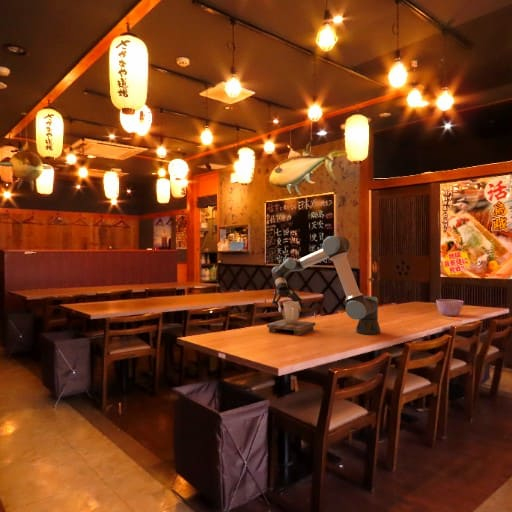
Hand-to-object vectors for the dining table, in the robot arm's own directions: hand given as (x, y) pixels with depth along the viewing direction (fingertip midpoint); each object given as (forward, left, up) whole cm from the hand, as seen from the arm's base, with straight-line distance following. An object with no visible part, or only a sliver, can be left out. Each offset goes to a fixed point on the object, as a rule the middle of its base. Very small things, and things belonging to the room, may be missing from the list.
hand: (290, 310), depth 279 cm
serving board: (-1, +1, -13) cm, 13 cm away
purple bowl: (-79, -117, -13) cm, 142 cm away
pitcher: (-1, +1, -8) cm, 8 cm away
